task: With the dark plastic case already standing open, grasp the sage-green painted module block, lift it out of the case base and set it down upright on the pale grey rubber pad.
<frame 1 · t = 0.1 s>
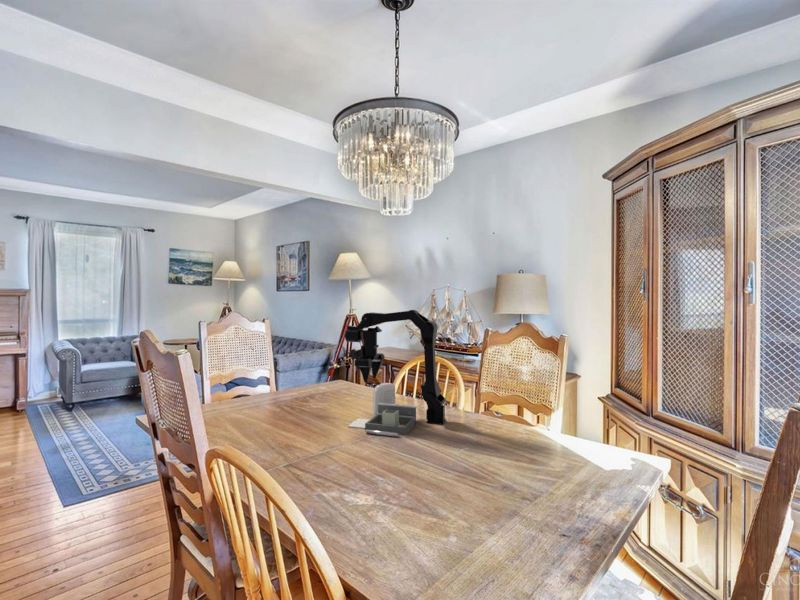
hand: (370, 380, 170), 15 cm above the table, fingers open, 9 cm apart
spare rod: (381, 435, 146), on the table
module: (390, 419, 155), in the case base
case base: (390, 427, 155), on the table
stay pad: (361, 423, 159), on the table
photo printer: (384, 412, 175), on the table
case lid open: (396, 421, 162), on the table
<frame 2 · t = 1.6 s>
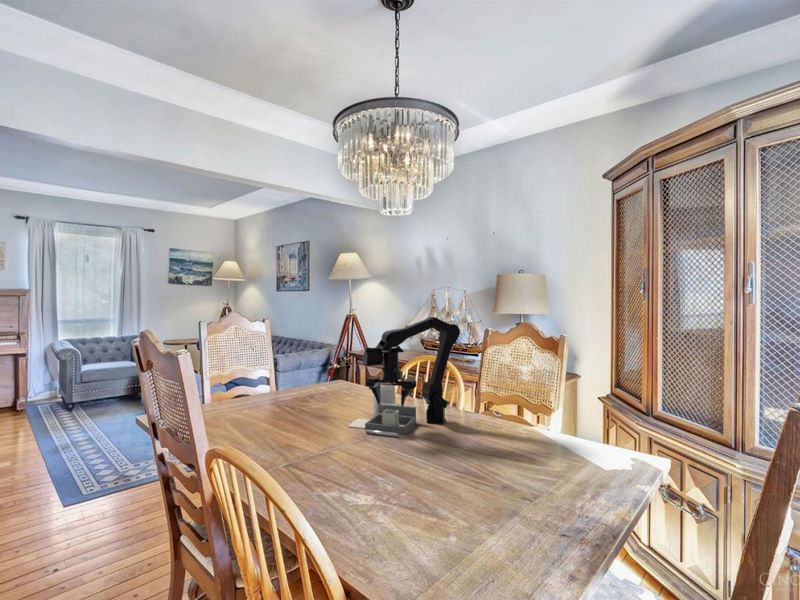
hand: (390, 405, 155), 8 cm above the table, fingers open, 9 cm apart
nothing on the table moved.
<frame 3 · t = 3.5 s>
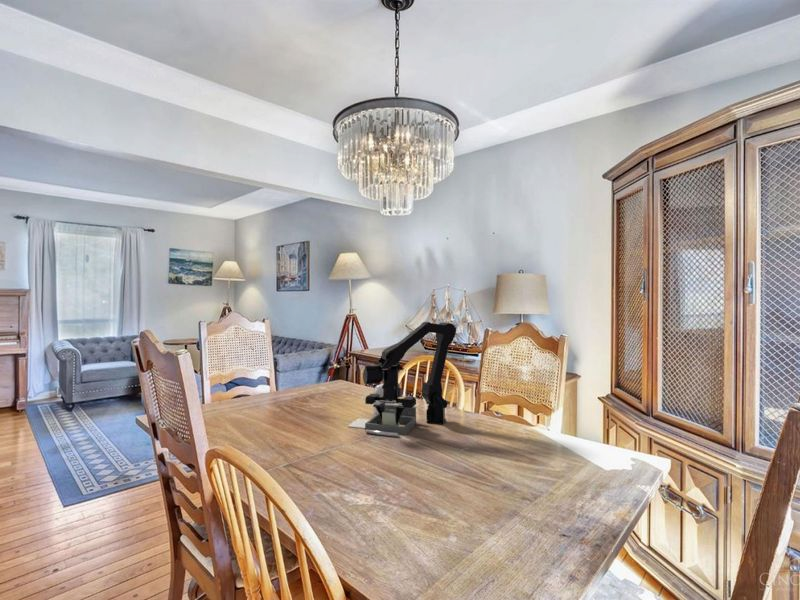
hand: (390, 423, 155), 2 cm above the table, fingers closed on module, 5 cm apart
module: (390, 418, 155), in the case base, touching gripper
everything else where it was.
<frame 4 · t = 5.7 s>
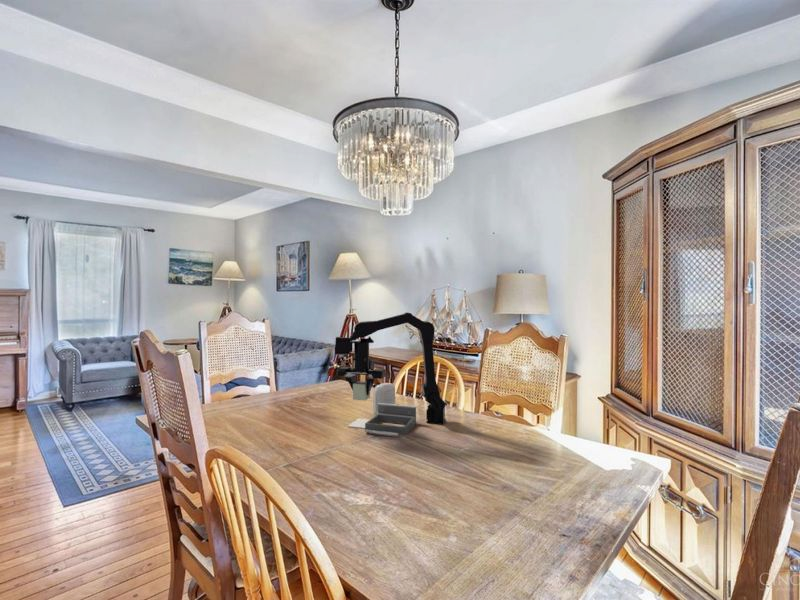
hand: (361, 394, 159), 11 cm above the table, fingers closed on module, 5 cm apart
module: (361, 390, 159), point 13 cm above the table, touching gripper
everything else where it was.
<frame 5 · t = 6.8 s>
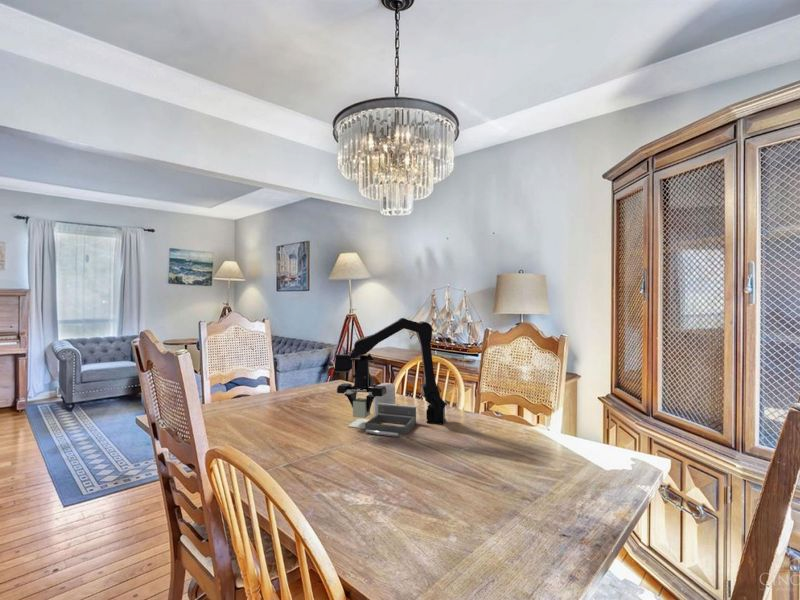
hand: (361, 411, 159), 5 cm above the table, fingers closed on module, 5 cm apart
module: (361, 407, 159), point 6 cm above the table, touching gripper
everything else where it was.
when the fingers open (3 cm above the table, at t = 7.9 s): module drops 1 cm, resting on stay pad.
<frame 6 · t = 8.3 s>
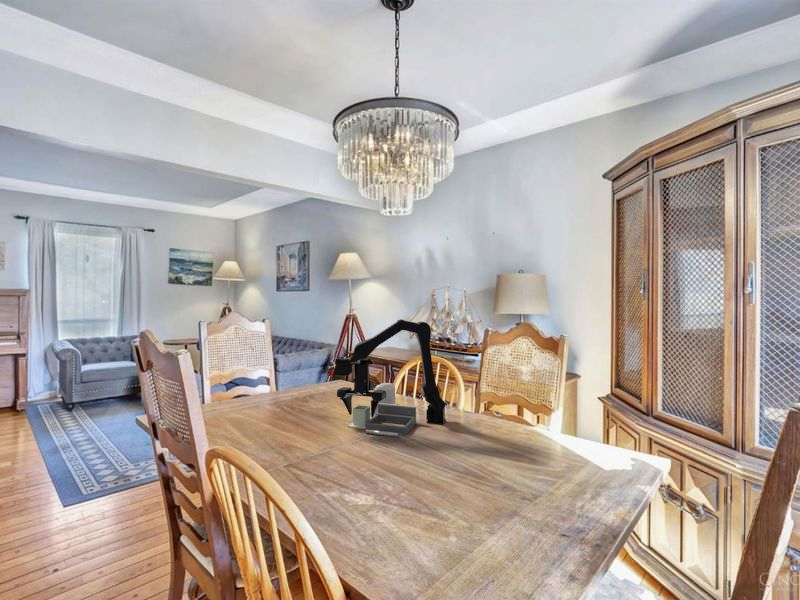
hand: (361, 415, 159), 3 cm above the table, fingers open, 9 cm apart
module: (361, 414, 159), on the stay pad
everything else where it was.
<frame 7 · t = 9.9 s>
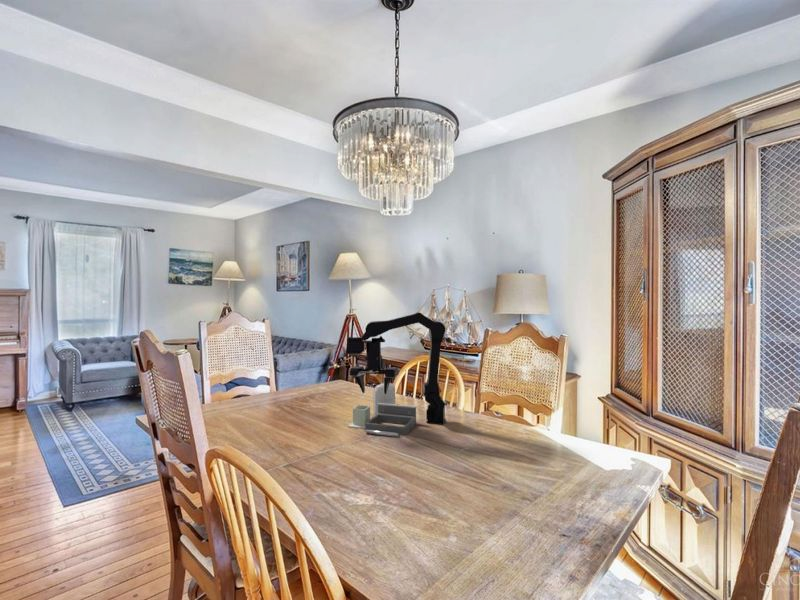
hand: (374, 393, 161), 11 cm above the table, fingers open, 9 cm apart
nothing on the table moved.
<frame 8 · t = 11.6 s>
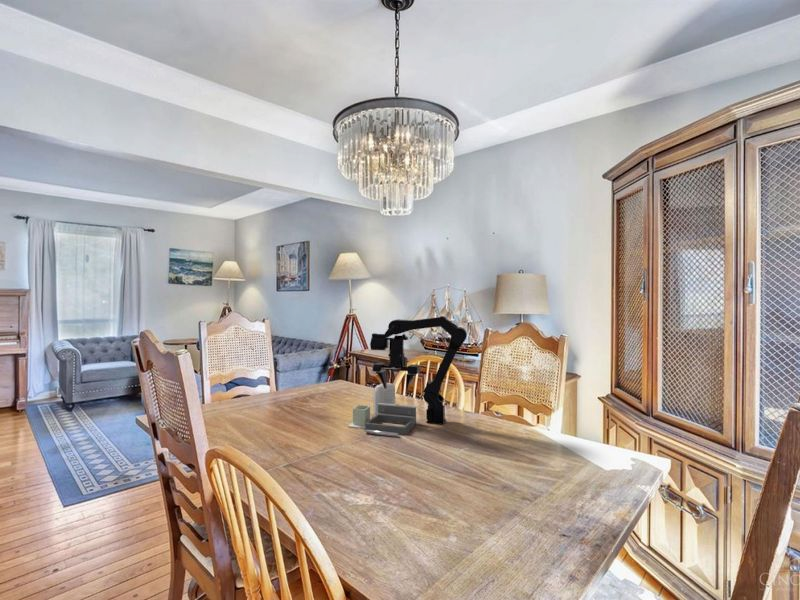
hand: (396, 389, 165), 12 cm above the table, fingers open, 9 cm apart
nothing on the table moved.
at the end: module inside the target area on the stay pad (0.1 cm from its centre), point 3.5 cm above the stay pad's base; module tilted 0°; the gripper is holding nothing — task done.
